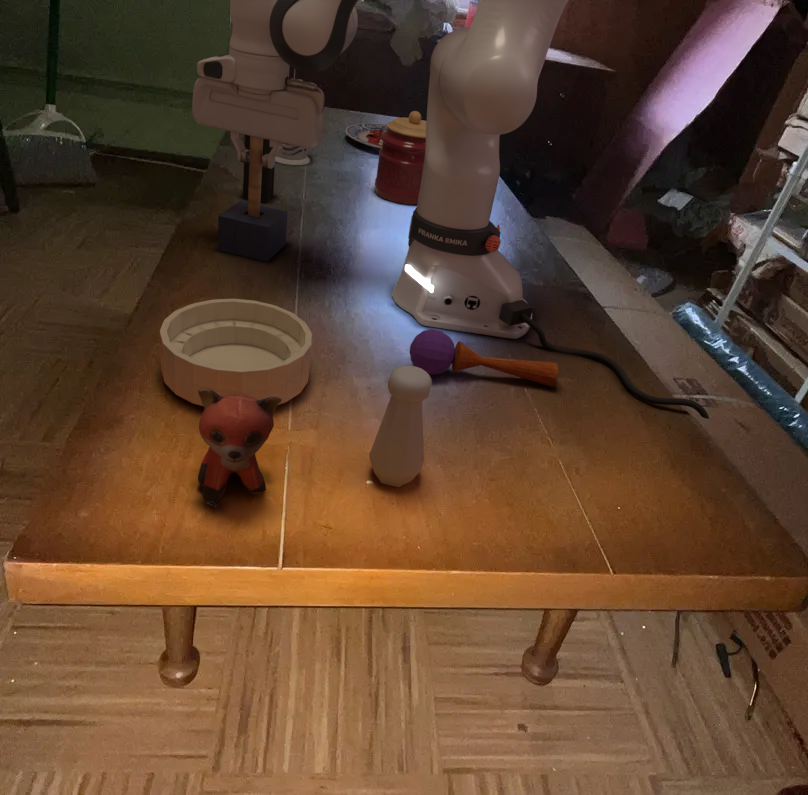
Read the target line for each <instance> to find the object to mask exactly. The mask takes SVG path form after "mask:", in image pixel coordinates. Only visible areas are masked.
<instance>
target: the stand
mask: <svg viewBox="0 0 808 795" xmlns="http://www.w3.org/2000/svg"><path fill="white" fill-rule="evenodd" d="M288 215H289V214H288V211H287V210H283V209H278V208H275V207H269V206H265V205H261V204H260V217H259V218H257V217H253V216H249V215H248V201H244V200H239V201H238V202H235V203H234V204H233V205H232V206H230V207H229V208H227V209H225V210H224V211H223V212H222V213H220V214H218V215H217V251H218V252H224V253H228V254H232V255H236V256H240V257H245V258H250V259H253V260H257V261H261V262H266V263H267V262H269V261H270V260H271V259H272V258H273V257H274V256H275V255H276V254H277V253H278V252H280V251H281V249H283V248H284V247H285V246H286V243H287V226H288Z"/></svg>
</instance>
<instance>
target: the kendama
mask: <svg viewBox="0 0 808 795" xmlns="http://www.w3.org/2000/svg"><path fill="white" fill-rule="evenodd" d="M409 356H410V361H411V363H412V364H413V366H416V367H419V368H421V369H423V370H424V371H426V372H427V373H428V374H429V375H430V376H435V375H439V374H443V373H444V372H446V371H447V370H448V369H449V368H451V371H452V372H453V373H456V372H459V371H463V370H467V369H471V368H474V367H478V366H482V367H485V368H489V369H492V370H495V371H498V372H502V373H505V374H509V375H511V376H514V377H518V378H521V379H525V380H528V381H532V382H534V383H537V384H541V385H544V386H548V387H551V388H552V387H554V386H555V384H556V382H557V380H558V376H559V364H558V363H557V362H552V361H540V360H539V361H538V360H526V359H515V358H514V359H513V358H501V357H500V358H499V357H487V356H486V357H484V356H481V355H480V354H478V352H475V351H474V350H473V349H471V348H470V347H468V346H467V345H466V344H465V343H463V342H462V341H460V340H458V341H457V342H456V344H455V343H454V341H453V340H452V338H451V337H450V335H448V334H446V333H445V332H444V331H442V330H439V329H433V328H430V329H425V330H422V331H421V332H420V333H418V334H416V336H415V337H414V338H413V340H412V341H411V343H410V346H409Z"/></svg>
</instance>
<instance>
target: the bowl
mask: <svg viewBox="0 0 808 795" xmlns="http://www.w3.org/2000/svg"><path fill="white" fill-rule="evenodd" d="M312 339H313V333H312V331H311V329H310V328H309V326H308V324H307V323H306V322H305V321H304V320H303V319H301V318H300V317H299V316H298V315H297V314H295V313H293V312H292V311H289V310H287V309H284V308H282V307H280V306H278V305H276V304H270V303H267V302H262V301H259V300H254V299H253V300H251V299H242V298H216V299H214V298H213V299H207V300H203V301H199V302H194V303H190V304H188V305H186V306H183V307H181V308H178V309H176V310H174V311H173V312H171V314H169V315H168V316H167V317H166V318H164V320H163V322H162V324H161V327H160V329H159V351H160V352H159V354H160V356H159V357H160V371H161V375H162V378H163V382H164V384H165V385H166V386H167V387H168V388H169V389H170V390H171V392H172V393H174V395H176V396H178V397H180V398H181V399H183V400H185V401H187V402H189V403H191V404H194V405H198V406H200V407H204V406H203V404H202V401H201V399H200V396H199V394H198V390H200V389H210V390H212V391H214V392H216V393H217V394H218V395H220V396H222V397H226V396H229V395H235V394H245V395H248V396H251V397H254V398H255V399H257V400H262V399H265V398H268V397H278V398H281V399H282V401H281V402H280V403H279V404H278V406H279V405H282V404H285V403H288V402H289V401H291V400H292V399H294V398H295V397H296V396H298V395H300V394H301V393H302V391H303V390H304V388H305V387H306V386H307V384H308V383H309V374H310V365H311V364H310V363H311V354H312Z"/></svg>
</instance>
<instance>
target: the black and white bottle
mask: <svg viewBox="0 0 808 795" xmlns="http://www.w3.org/2000/svg"><path fill="white" fill-rule="evenodd" d="M243 143H244V146H245V148H246V149H248V150H250V135H245V134H244V141H243ZM272 149H273V147H270V140H268V139H263V156H264V155H265V154H269V153H270V152H271V150H272ZM249 156H250V155H249ZM262 163H263V161H262ZM275 167H276V164H275V165H274V167H273V168H272V169H270V168H266V167H262V180H261V203H268V202H269V200H271V199H273V198H274V187H275V186H274V185H275V171H276V170H275ZM242 181H243V182H242V198H243V199H244V200H248V189H249V162H247V163H243V180H242Z"/></svg>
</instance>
